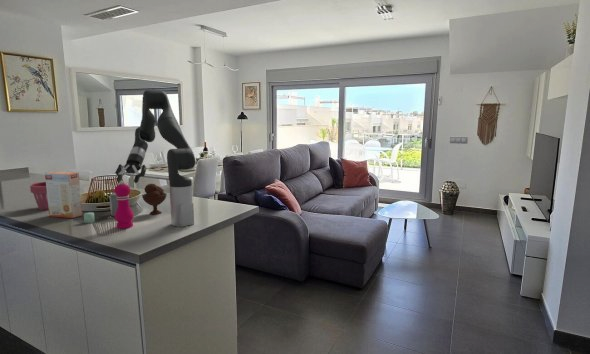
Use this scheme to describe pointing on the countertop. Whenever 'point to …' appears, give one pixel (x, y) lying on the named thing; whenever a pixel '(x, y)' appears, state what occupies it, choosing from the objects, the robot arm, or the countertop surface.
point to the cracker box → (63, 194)
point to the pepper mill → (123, 206)
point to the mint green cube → (89, 217)
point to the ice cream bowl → (154, 197)
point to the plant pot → (40, 195)
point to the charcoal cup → (113, 203)
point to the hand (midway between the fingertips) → (126, 182)
